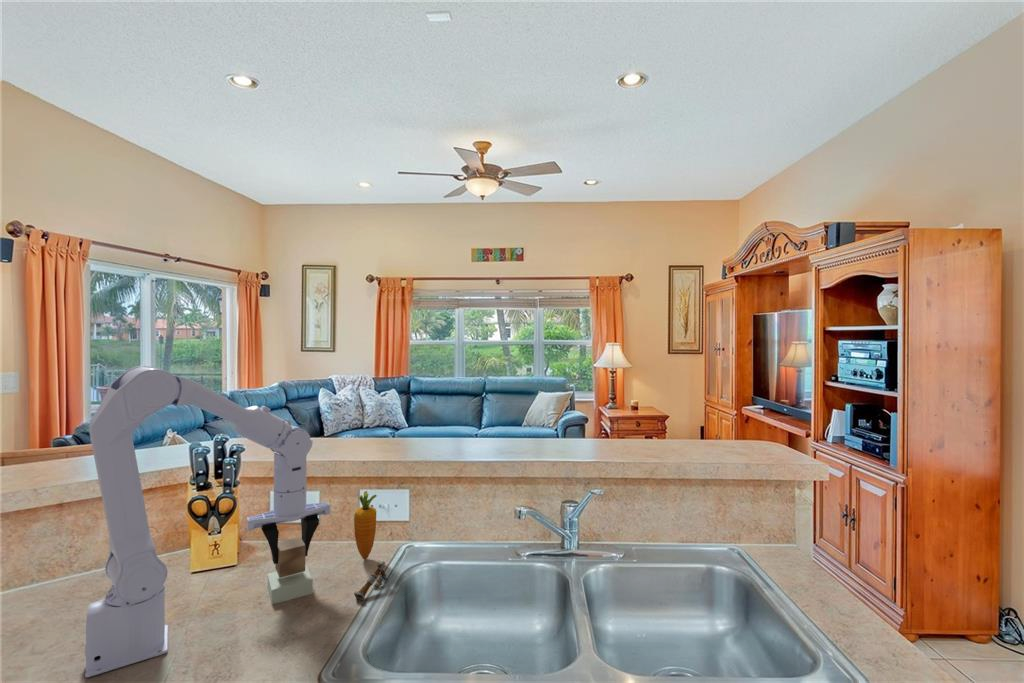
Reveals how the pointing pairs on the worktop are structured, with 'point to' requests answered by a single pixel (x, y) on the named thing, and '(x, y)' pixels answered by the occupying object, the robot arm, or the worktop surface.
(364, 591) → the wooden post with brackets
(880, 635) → the worktop surface
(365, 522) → the carrot
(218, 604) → the worktop surface
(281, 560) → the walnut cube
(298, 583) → the base block
